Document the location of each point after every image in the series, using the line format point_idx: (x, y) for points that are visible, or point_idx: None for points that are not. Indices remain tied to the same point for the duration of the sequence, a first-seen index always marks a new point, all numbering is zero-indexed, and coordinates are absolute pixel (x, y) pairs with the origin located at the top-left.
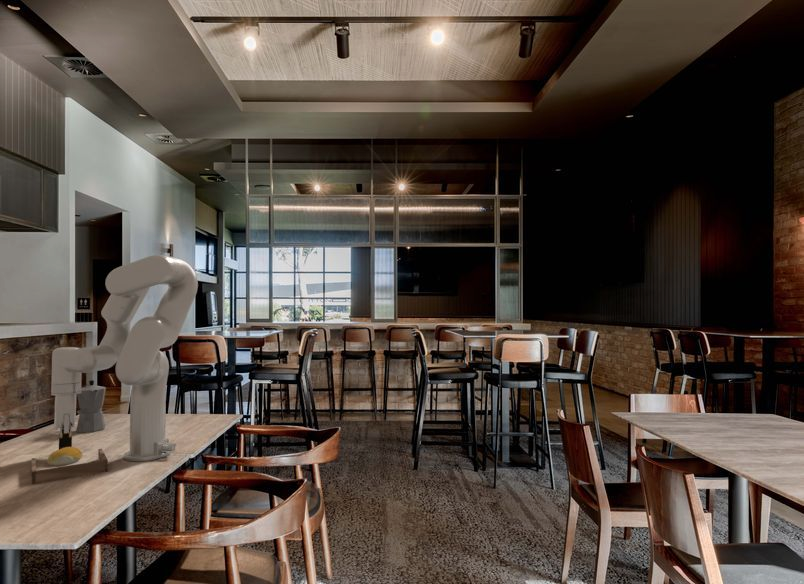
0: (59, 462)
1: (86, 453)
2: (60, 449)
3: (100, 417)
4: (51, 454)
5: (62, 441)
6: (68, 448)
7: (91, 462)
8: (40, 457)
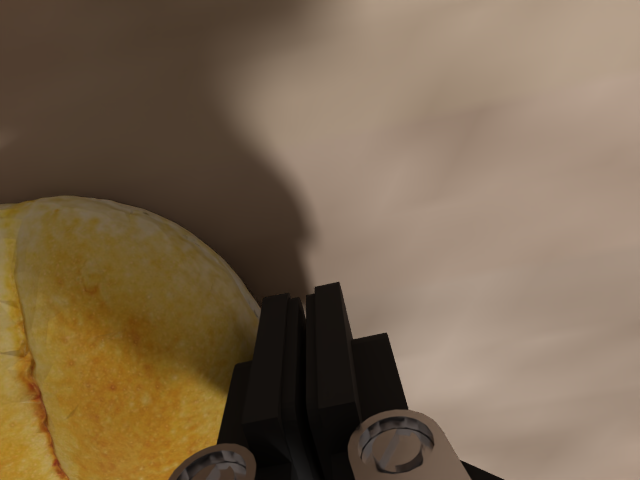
0: None
1: None
2: (79, 379)
3: None
4: (44, 257)
5: (222, 434)
6: (77, 470)
7: None
8: (401, 25)
